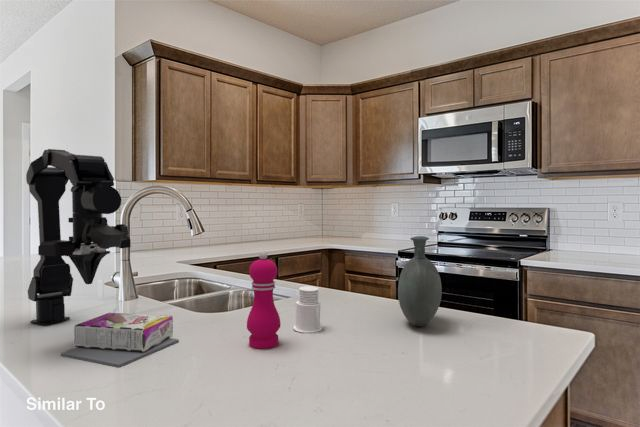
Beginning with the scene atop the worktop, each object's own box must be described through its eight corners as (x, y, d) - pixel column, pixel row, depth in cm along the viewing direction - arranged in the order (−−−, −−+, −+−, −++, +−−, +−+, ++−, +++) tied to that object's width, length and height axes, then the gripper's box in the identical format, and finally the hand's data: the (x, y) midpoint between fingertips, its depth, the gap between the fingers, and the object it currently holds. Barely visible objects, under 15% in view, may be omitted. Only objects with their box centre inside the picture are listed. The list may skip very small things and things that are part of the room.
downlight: (286, 327, 107) (286, 287, 106) (307, 322, 112) (308, 283, 111) (307, 336, 101) (308, 294, 100) (329, 330, 106) (330, 289, 105)
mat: (60, 355, 88) (60, 353, 88) (125, 333, 103) (125, 331, 103) (119, 367, 82) (119, 364, 82) (178, 341, 97) (178, 339, 97)
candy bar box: (108, 310, 102) (173, 315, 99) (108, 332, 102) (173, 337, 99) (73, 323, 91) (144, 328, 88) (73, 347, 91) (144, 353, 88)
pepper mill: (285, 340, 97) (285, 250, 97) (271, 351, 90) (271, 254, 90) (256, 337, 100) (255, 249, 99) (240, 347, 93) (239, 253, 92)
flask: (384, 329, 105) (384, 238, 104) (408, 313, 120) (409, 233, 119) (432, 337, 99) (432, 240, 98) (451, 319, 114) (452, 234, 113)
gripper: (74, 215, 84) (75, 296, 85) (147, 212, 101) (148, 279, 102) (35, 214, 89) (37, 291, 89) (112, 211, 106) (113, 276, 106)
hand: (88, 283), depth 97 cm, fingers closed
